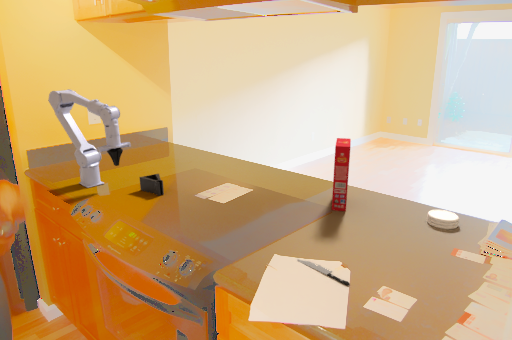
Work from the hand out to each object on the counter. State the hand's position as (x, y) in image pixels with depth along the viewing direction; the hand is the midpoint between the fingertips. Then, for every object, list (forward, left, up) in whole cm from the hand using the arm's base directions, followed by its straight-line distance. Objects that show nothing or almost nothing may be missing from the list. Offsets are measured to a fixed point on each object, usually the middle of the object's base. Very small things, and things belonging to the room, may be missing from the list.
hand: (116, 165), depth 165 cm
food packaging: (+82, +52, -11) cm, 97 cm away
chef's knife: (+105, +6, -11) cm, 105 cm away
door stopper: (+10, +9, -7) cm, 16 cm away
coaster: (+118, +61, -11) cm, 133 cm away
